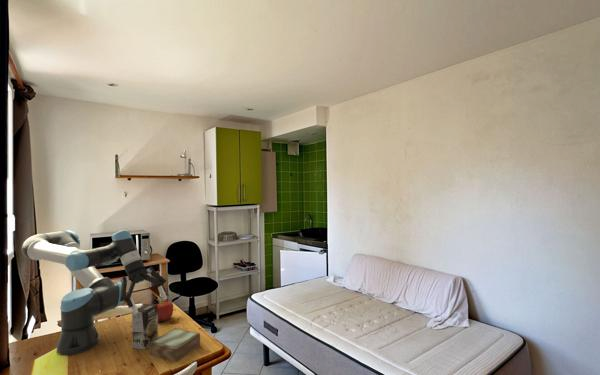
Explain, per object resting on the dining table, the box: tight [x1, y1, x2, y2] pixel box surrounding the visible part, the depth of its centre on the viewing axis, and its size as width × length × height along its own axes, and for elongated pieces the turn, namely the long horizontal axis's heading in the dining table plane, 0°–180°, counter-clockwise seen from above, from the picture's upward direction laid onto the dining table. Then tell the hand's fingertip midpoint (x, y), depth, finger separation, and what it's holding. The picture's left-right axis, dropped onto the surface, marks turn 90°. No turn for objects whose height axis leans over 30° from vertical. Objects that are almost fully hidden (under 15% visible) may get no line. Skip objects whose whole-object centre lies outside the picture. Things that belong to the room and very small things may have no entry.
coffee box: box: [131, 303, 159, 350], centre depth 140 cm, size 9×6×16 cm
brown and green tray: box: [149, 327, 201, 362], centre depth 135 cm, size 14×14×5 cm
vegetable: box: [156, 298, 174, 323], centre depth 164 cm, size 11×10×10 cm
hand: (151, 306), depth 140 cm, fingers open, 13 cm apart
